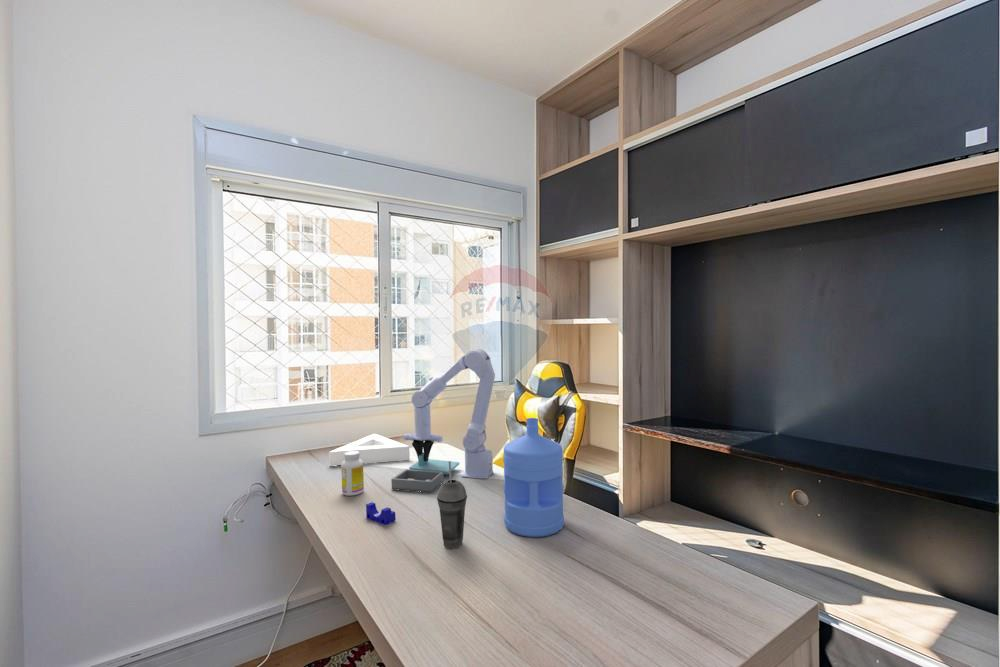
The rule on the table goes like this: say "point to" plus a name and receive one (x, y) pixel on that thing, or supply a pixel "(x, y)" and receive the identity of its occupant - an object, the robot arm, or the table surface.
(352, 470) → the supplement bottle
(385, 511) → the cable holder
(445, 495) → the beverage cup
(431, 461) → the lid
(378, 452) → the triangular ruler
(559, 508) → the water jug
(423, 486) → the tub
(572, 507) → the table surface
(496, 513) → the table surface
